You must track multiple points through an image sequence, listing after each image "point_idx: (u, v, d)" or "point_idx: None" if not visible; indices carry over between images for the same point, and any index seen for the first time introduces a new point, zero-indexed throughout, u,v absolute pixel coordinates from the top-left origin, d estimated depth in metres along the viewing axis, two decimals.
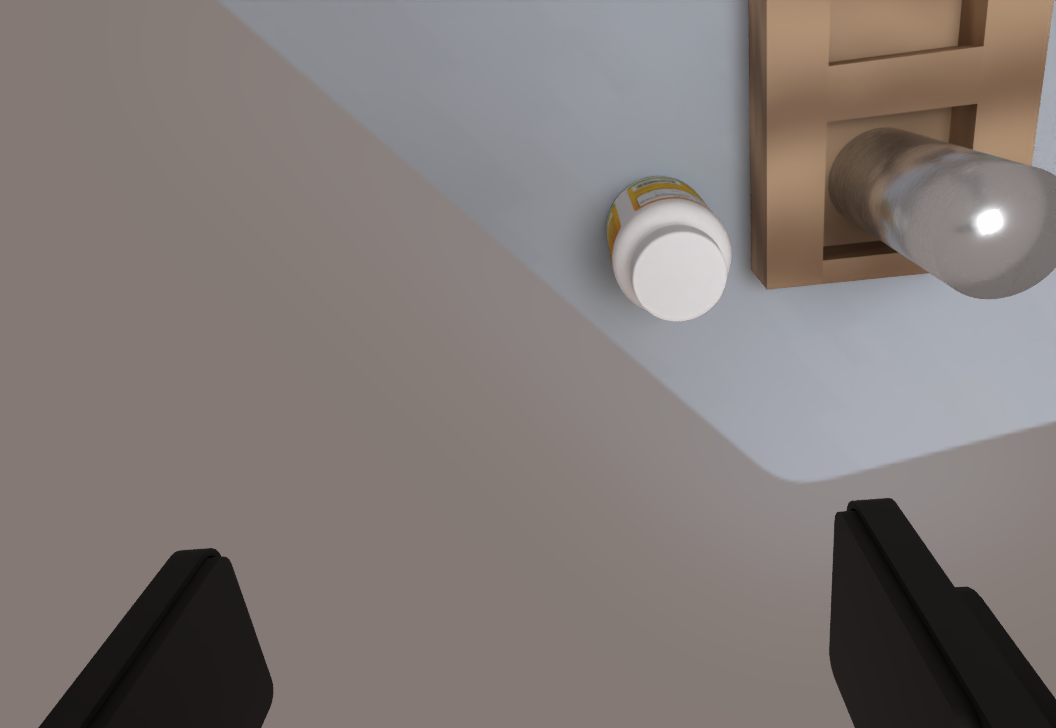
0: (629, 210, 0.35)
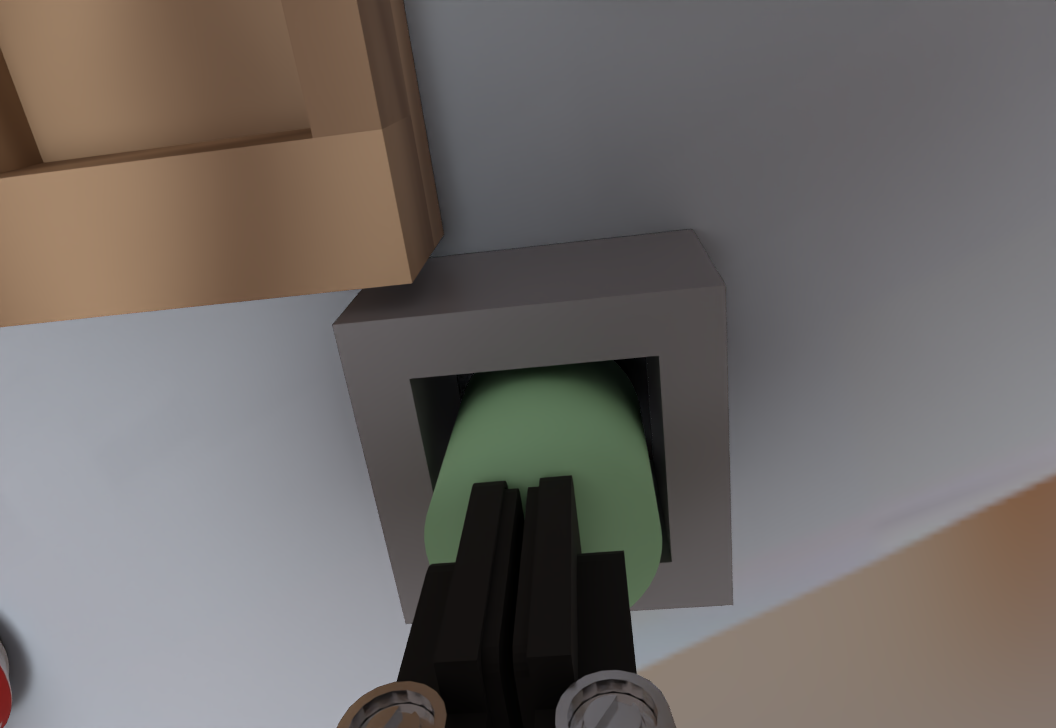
0: None
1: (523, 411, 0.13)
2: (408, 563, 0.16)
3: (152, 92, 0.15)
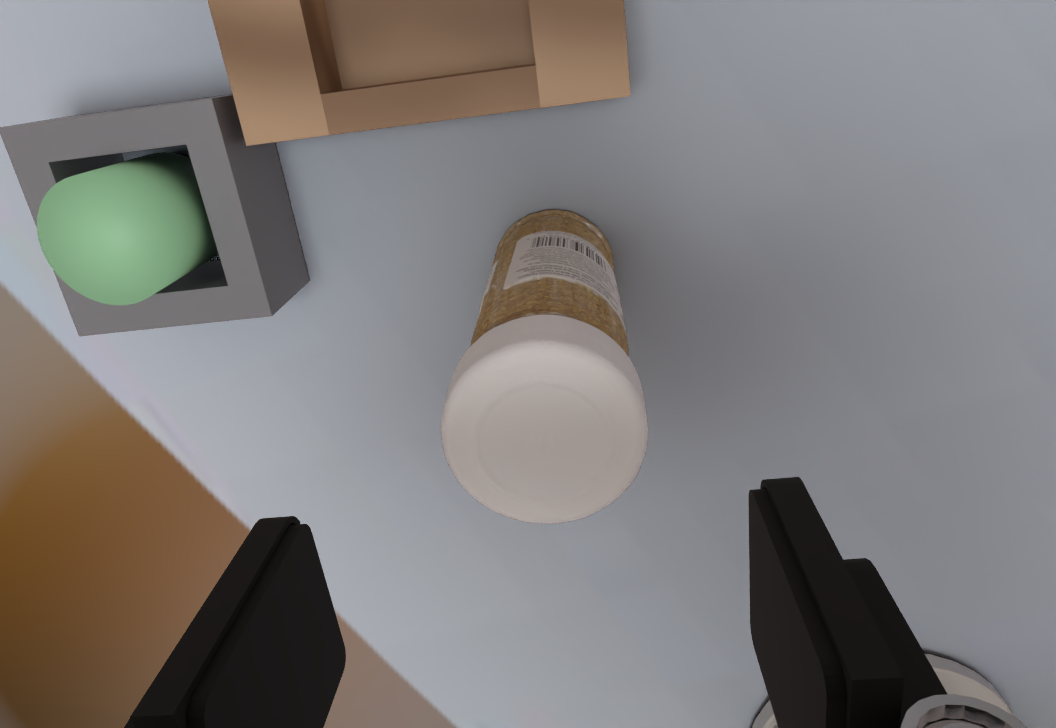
0: None
1: (181, 222, 0.23)
2: (50, 133, 0.23)
3: None
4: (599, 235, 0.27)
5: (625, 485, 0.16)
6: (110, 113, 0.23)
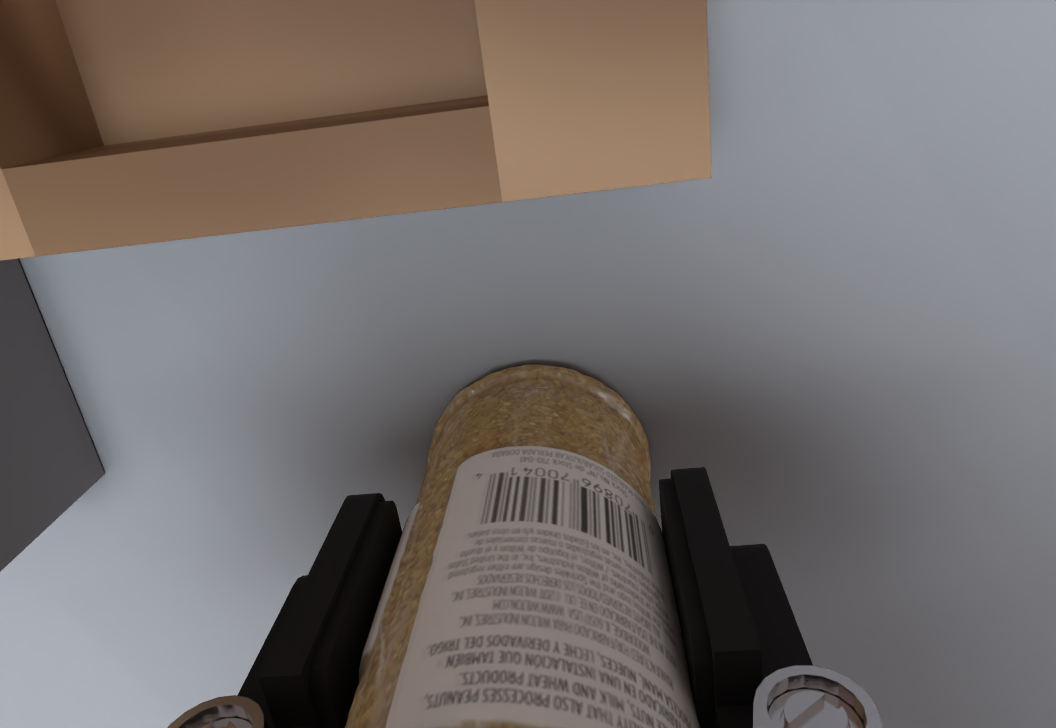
0: None
1: None
2: None
3: None
4: (625, 414, 0.14)
5: None
6: None
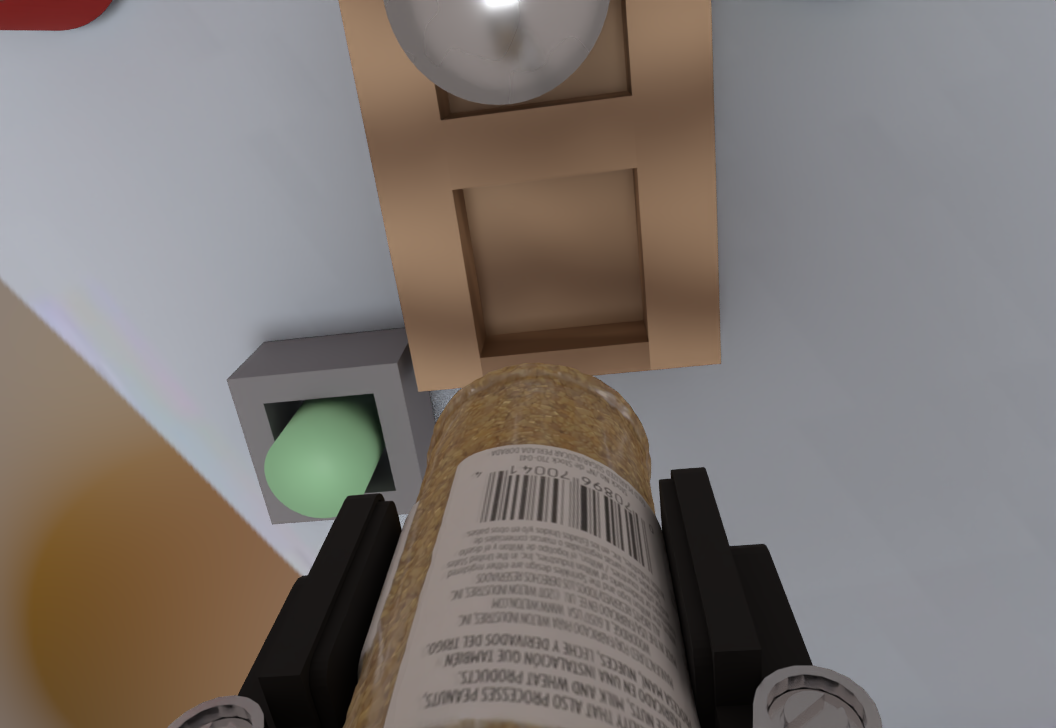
0: None
1: (370, 454, 0.30)
2: (267, 384, 0.30)
3: (497, 244, 0.30)
4: (625, 413, 0.14)
5: None
6: (316, 371, 0.30)
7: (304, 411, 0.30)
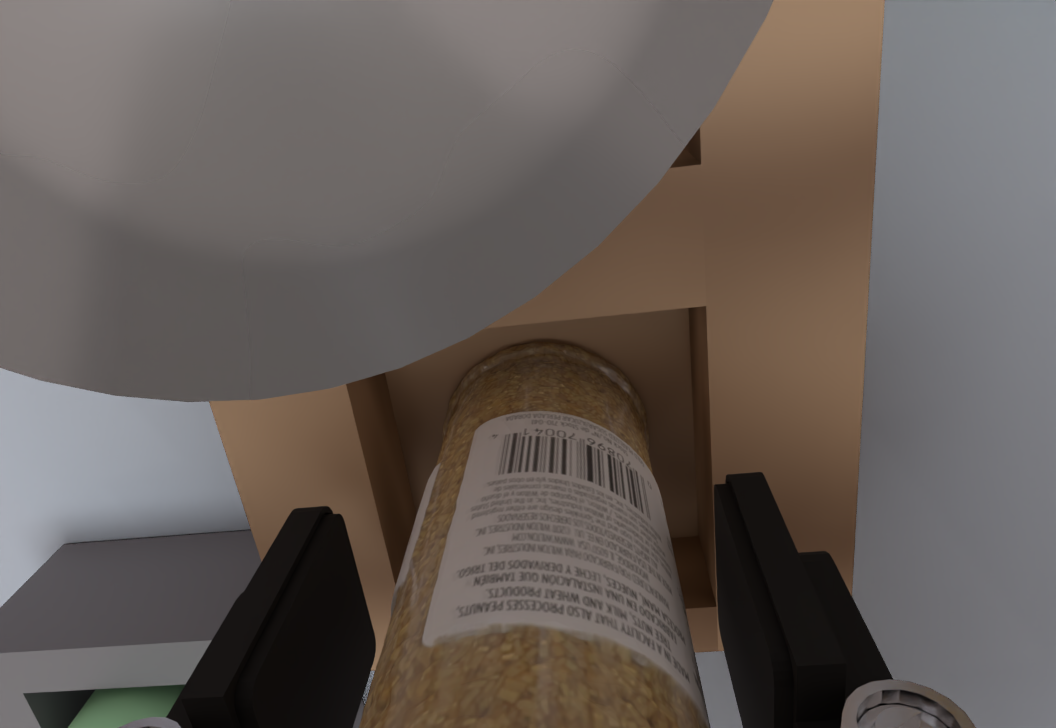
0: None
1: None
2: (25, 664, 0.17)
3: (439, 412, 0.17)
4: (625, 388, 0.15)
5: None
6: (109, 648, 0.16)
7: (92, 712, 0.17)
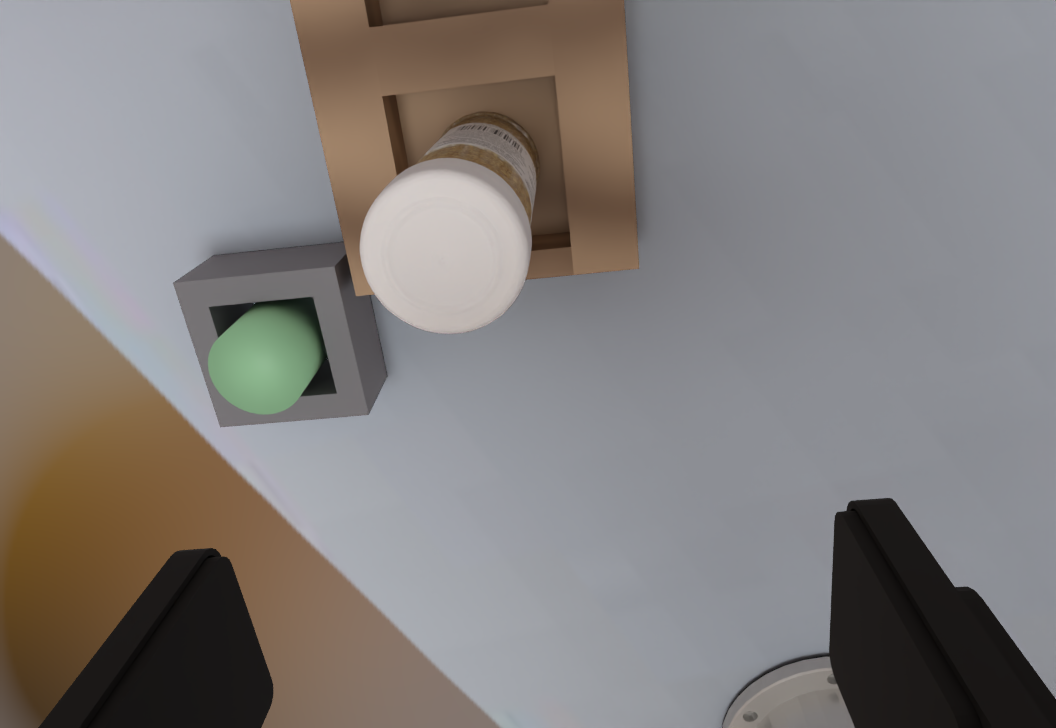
0: None
1: (310, 354, 0.32)
2: (211, 287, 0.32)
3: None
4: (525, 135, 0.30)
5: (511, 297, 0.20)
6: (258, 275, 0.31)
7: (247, 313, 0.32)
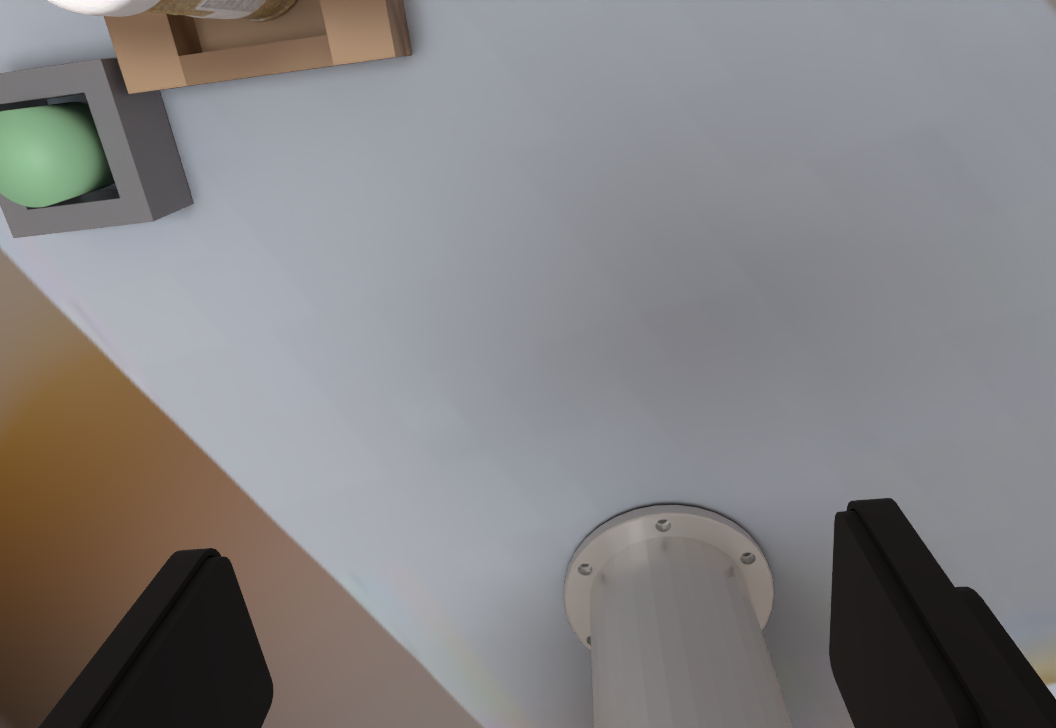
0: None
1: (81, 148, 0.32)
2: None
3: None
4: None
5: None
6: (29, 69, 0.32)
7: None
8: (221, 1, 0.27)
